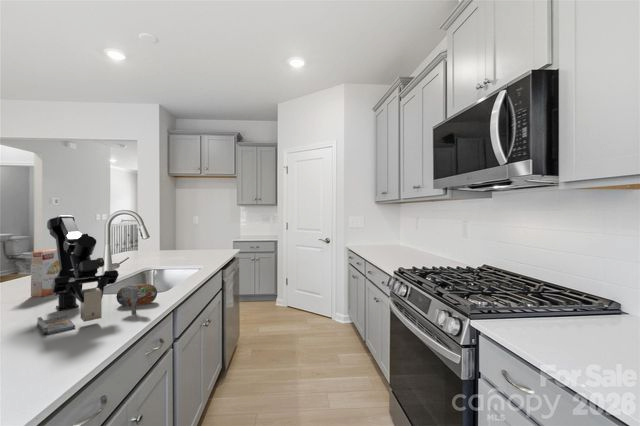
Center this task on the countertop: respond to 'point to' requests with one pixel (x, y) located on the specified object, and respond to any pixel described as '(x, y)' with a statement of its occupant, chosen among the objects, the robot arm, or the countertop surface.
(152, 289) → the tin
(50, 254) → the cracker box
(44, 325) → the plate
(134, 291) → the grey t-shaped piece
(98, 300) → the block
